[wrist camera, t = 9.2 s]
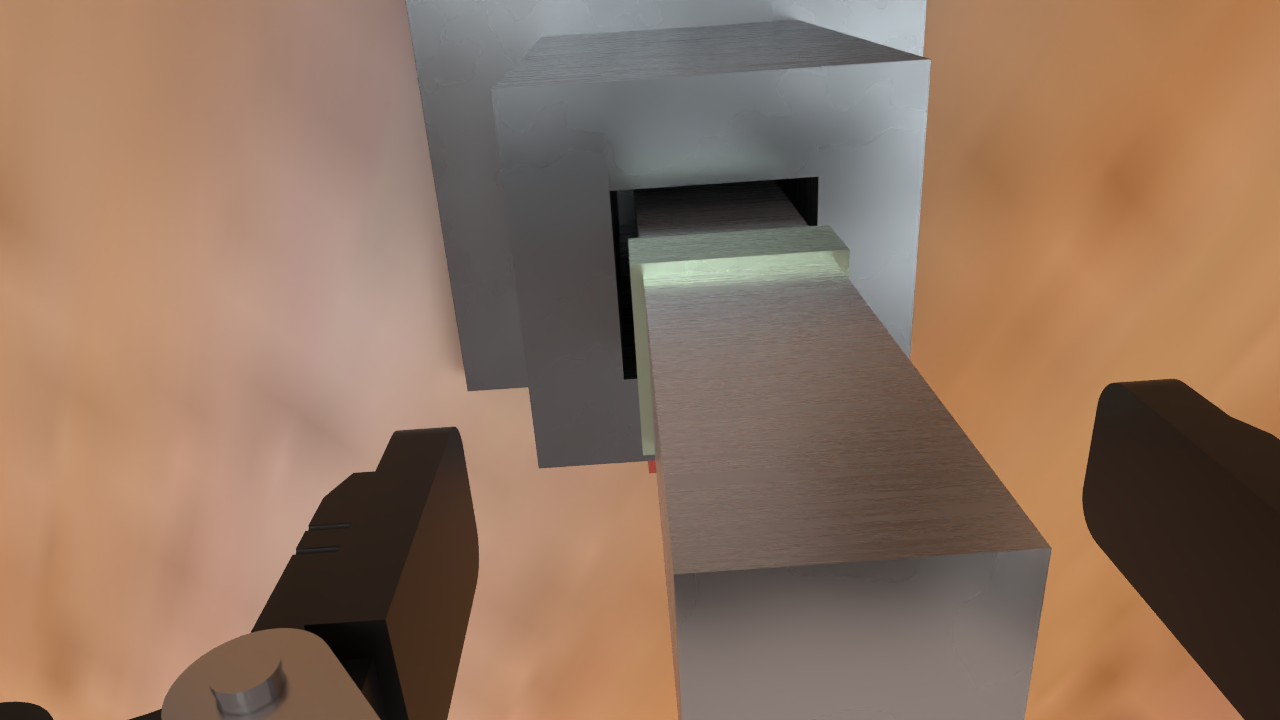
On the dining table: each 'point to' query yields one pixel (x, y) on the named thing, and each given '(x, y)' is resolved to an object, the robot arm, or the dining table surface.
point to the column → (814, 484)
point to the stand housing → (651, 169)
